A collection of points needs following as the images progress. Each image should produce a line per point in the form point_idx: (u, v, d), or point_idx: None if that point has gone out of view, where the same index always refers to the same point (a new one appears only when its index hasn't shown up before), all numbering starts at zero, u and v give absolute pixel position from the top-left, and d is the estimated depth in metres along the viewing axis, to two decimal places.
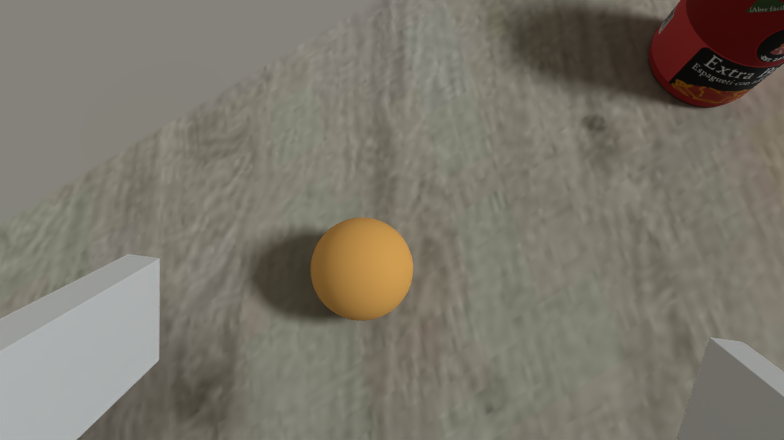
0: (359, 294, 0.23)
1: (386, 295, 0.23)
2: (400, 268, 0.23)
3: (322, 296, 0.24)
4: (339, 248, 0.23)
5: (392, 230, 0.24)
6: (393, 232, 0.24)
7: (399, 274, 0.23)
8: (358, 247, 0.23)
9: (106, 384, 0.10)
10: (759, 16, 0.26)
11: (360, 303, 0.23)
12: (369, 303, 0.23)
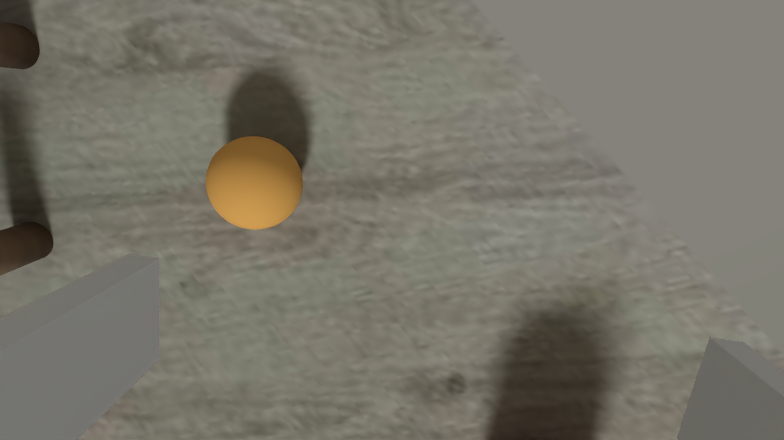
0: (211, 190, 0.26)
1: (218, 211, 0.26)
2: (242, 223, 0.26)
3: (216, 153, 0.26)
4: (244, 169, 0.25)
5: (280, 212, 0.26)
6: (277, 213, 0.26)
7: (237, 222, 0.26)
8: (245, 187, 0.25)
9: (106, 384, 0.10)
10: None
11: (207, 190, 0.26)
12: (209, 197, 0.26)
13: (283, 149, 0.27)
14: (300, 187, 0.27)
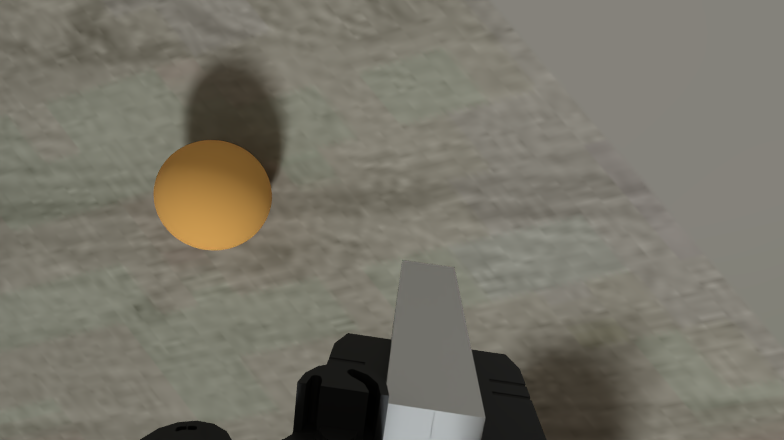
0: (157, 204, 0.21)
1: (168, 229, 0.22)
2: (195, 243, 0.22)
3: (166, 160, 0.22)
4: (195, 181, 0.21)
5: (241, 231, 0.22)
6: (237, 233, 0.22)
7: (189, 242, 0.22)
8: (196, 202, 0.21)
9: None
10: None
11: (155, 203, 0.22)
12: (157, 212, 0.22)
13: (247, 156, 0.22)
14: (267, 201, 0.23)
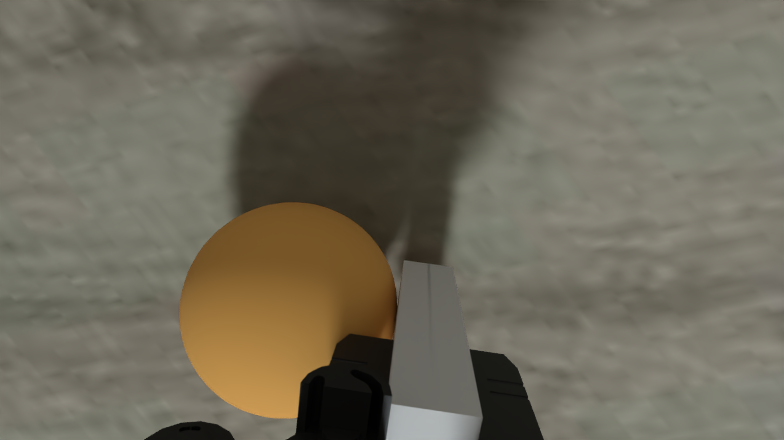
0: (181, 330, 0.11)
1: None
2: (245, 410, 0.11)
3: (208, 240, 0.12)
4: (244, 301, 0.10)
5: None
6: None
7: (235, 406, 0.11)
8: (242, 347, 0.10)
9: None
10: None
11: None
12: None
13: (355, 241, 0.11)
14: (388, 331, 0.11)
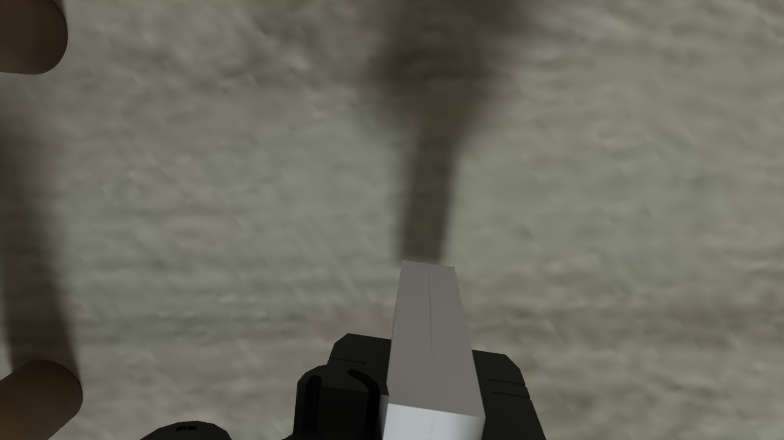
0: None
1: None
2: None
3: None
4: None
5: None
6: None
7: None
8: None
9: None
10: None
11: None
12: None
13: None
14: None
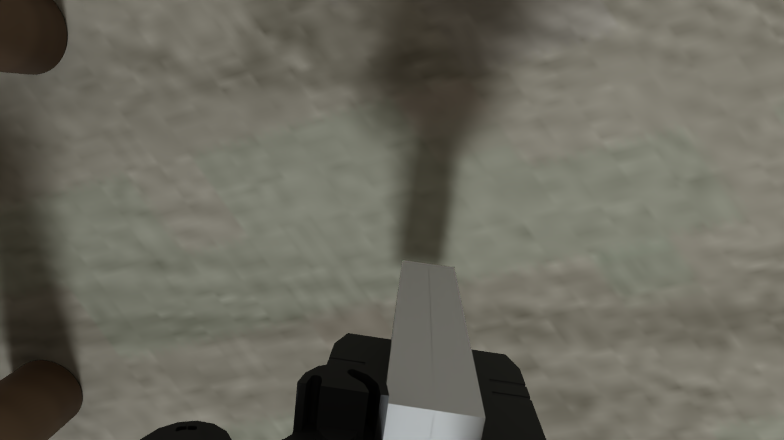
0: None
1: None
2: None
3: None
4: None
5: None
6: None
7: None
8: None
9: None
10: None
11: None
12: None
13: None
14: None
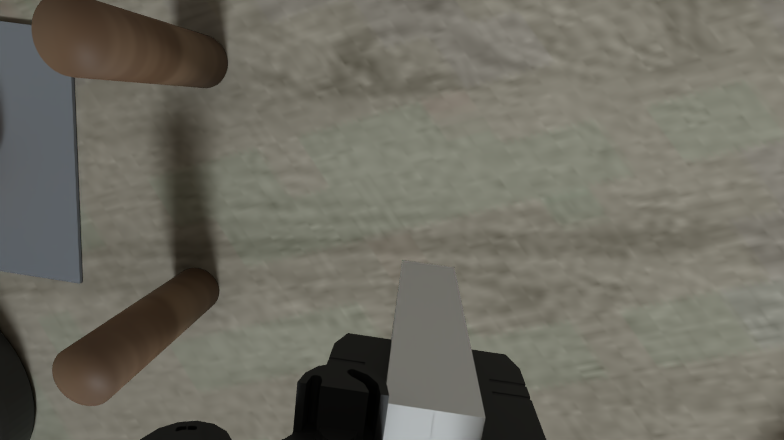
0: None
1: None
2: None
3: None
4: None
5: None
6: None
7: None
8: None
9: None
10: None
11: None
12: None
13: None
14: None
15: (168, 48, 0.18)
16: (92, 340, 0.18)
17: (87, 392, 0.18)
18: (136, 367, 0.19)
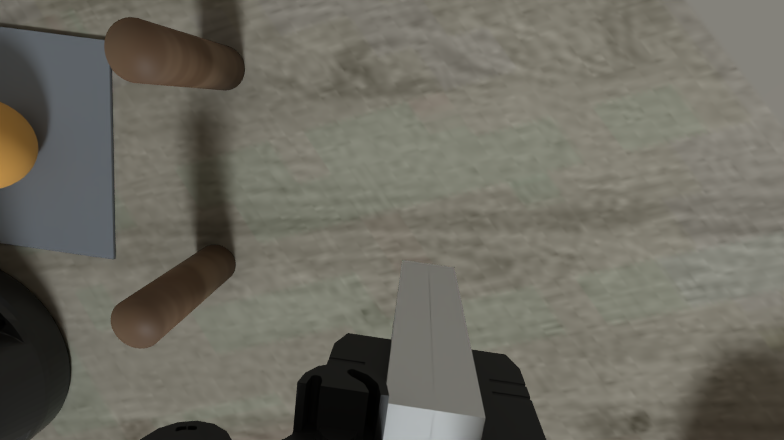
0: (34, 153, 0.28)
1: (26, 173, 0.28)
2: None
3: (11, 121, 0.27)
4: None
5: None
6: None
7: None
8: None
9: None
10: None
11: (30, 156, 0.28)
12: (29, 163, 0.28)
13: None
14: None
15: (203, 58, 0.23)
16: (142, 295, 0.23)
17: (139, 337, 0.23)
18: (176, 319, 0.24)
